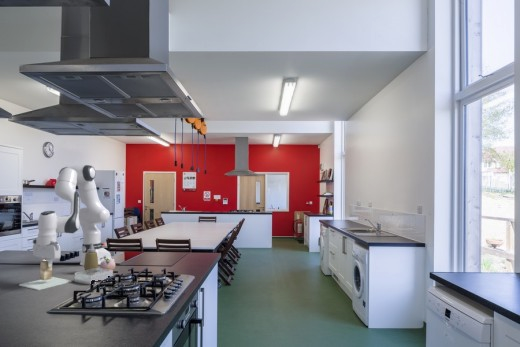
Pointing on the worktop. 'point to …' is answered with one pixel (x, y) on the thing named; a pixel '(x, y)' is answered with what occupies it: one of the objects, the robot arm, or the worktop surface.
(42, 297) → the worktop surface
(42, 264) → the birch peg
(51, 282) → the sage pad
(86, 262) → the squeeze bottle
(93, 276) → the aluminium socket block
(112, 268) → the decorative fruit
